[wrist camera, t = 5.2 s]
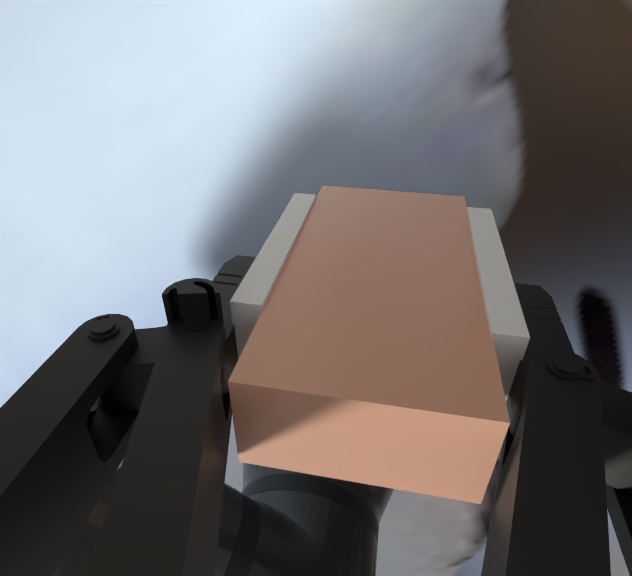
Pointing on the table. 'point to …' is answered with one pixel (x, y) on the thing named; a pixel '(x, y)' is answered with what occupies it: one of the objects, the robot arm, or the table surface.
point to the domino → (375, 351)
